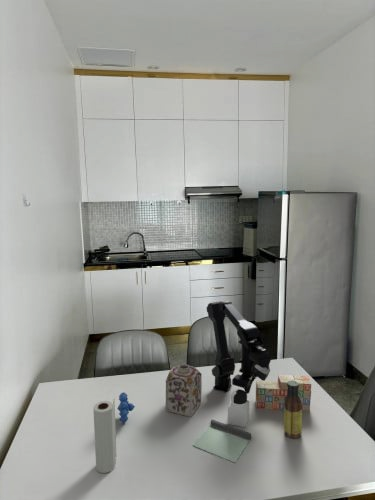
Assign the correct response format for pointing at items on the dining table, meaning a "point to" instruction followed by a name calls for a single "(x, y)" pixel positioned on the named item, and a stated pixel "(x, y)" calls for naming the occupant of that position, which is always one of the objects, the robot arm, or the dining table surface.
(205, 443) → the pale green flat panel
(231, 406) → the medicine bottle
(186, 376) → the decorative jar
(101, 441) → the paper towel roll
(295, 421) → the sauce bottle
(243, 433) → the strip
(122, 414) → the grapes
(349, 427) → the dining table surface
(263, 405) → the stack of blocks
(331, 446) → the dining table surface
